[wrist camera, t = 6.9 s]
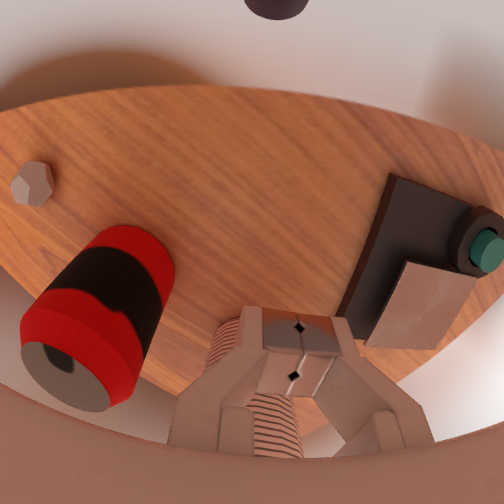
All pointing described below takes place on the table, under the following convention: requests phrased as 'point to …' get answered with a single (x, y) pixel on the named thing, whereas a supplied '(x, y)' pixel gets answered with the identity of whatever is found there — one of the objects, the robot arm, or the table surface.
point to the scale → (412, 245)
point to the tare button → (487, 250)
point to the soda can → (98, 319)
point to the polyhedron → (32, 184)
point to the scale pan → (420, 307)
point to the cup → (262, 407)
